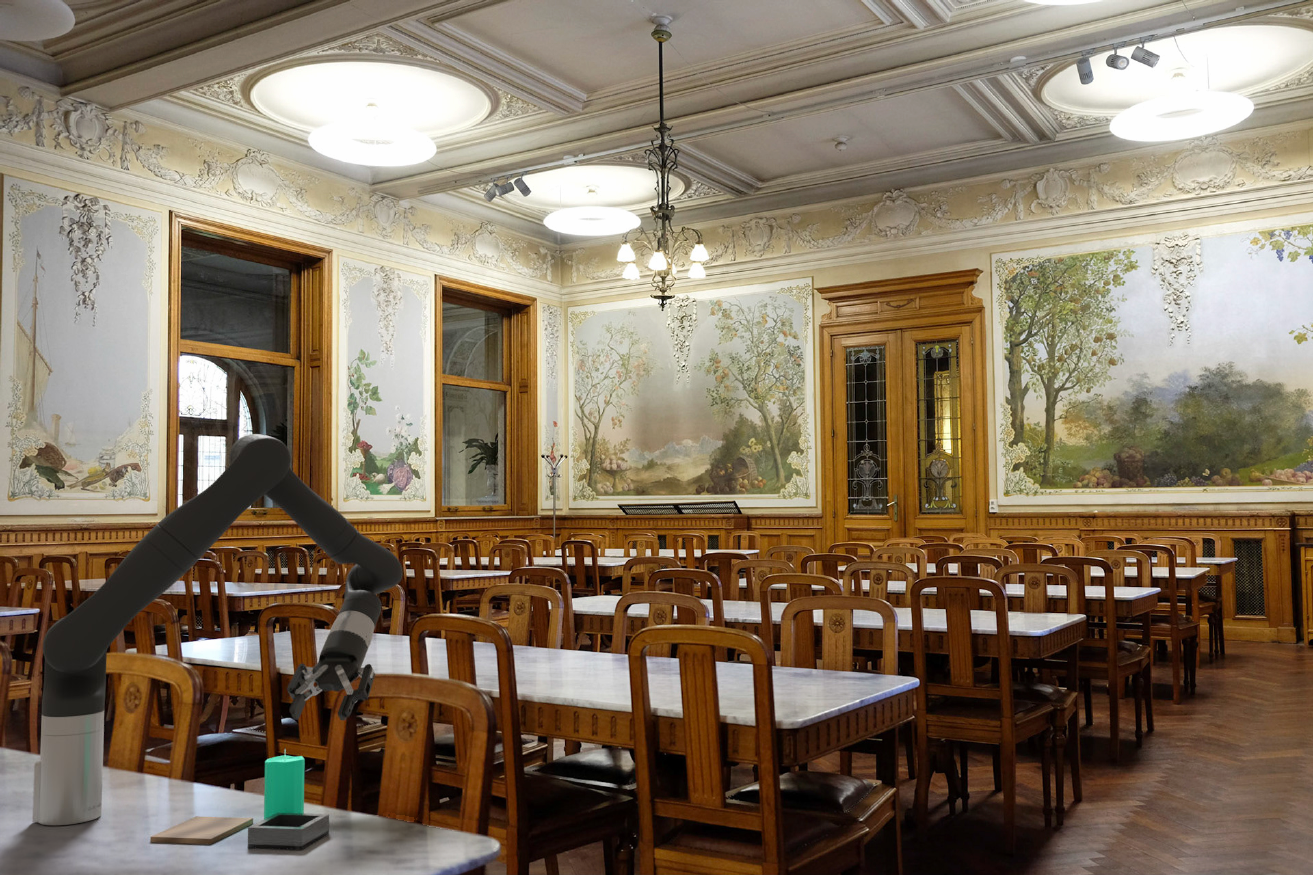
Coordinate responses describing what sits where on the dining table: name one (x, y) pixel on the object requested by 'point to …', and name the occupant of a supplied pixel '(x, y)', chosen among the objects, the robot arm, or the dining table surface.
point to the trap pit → (288, 831)
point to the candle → (284, 785)
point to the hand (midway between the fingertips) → (317, 717)
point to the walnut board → (202, 830)
